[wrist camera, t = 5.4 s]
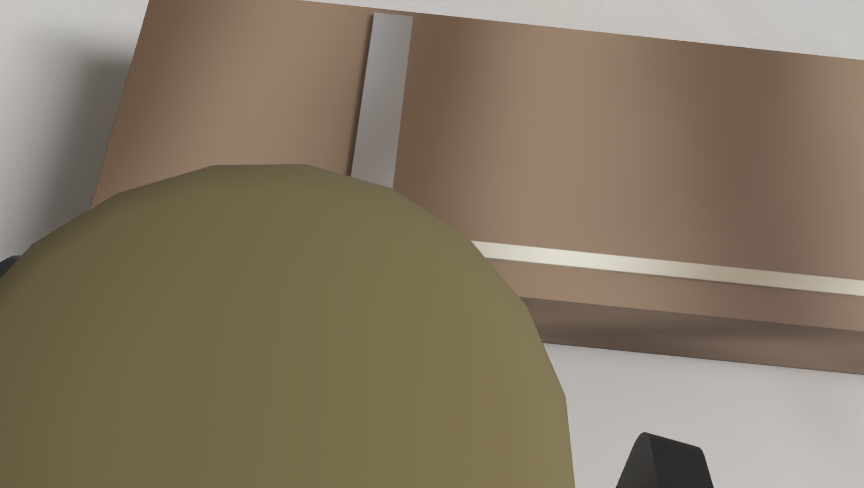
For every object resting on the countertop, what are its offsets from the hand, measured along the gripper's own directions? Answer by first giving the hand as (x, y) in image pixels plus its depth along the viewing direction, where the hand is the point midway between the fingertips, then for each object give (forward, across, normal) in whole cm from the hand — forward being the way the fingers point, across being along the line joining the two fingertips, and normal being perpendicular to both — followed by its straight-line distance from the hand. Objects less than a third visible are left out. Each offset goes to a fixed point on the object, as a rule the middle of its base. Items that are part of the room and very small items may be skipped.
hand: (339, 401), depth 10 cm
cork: (+3, 0, +5) cm, 6 cm away
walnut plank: (+8, -6, -1) cm, 10 cm away
